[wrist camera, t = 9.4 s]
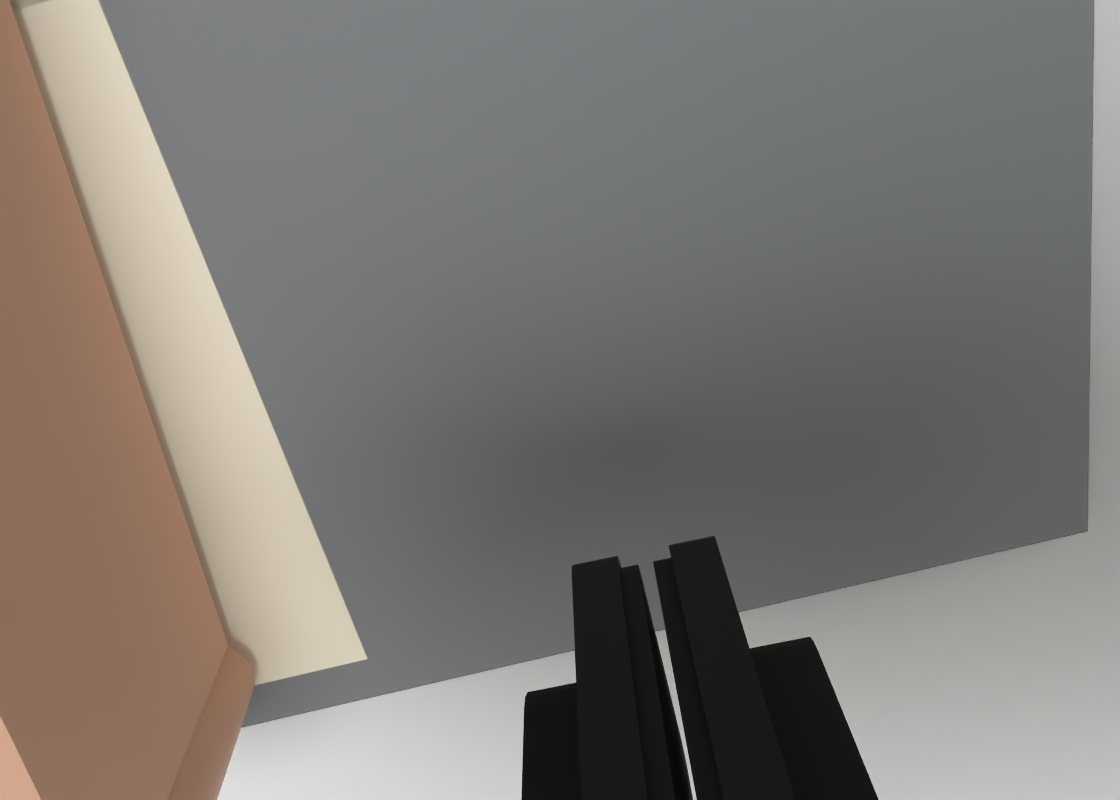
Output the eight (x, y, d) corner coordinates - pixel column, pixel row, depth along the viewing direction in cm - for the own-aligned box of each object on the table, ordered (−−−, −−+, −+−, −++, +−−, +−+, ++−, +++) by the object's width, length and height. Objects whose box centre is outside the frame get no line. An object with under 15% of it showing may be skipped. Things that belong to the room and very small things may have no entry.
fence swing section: (-101, 11, 13) (-676, 41, 7) (29, -6, 13) (-418, 8, 7) (174, 720, 18) (6, 1114, 12) (265, 707, 18) (145, 1094, 12)
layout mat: (1086, -1228, 10) (1113, -1284, 9) (1076, 520, 19) (1089, 533, 18) (-1584, -442, 11) (-1670, -460, 10) (-361, 854, 20) (-380, 873, 19)
